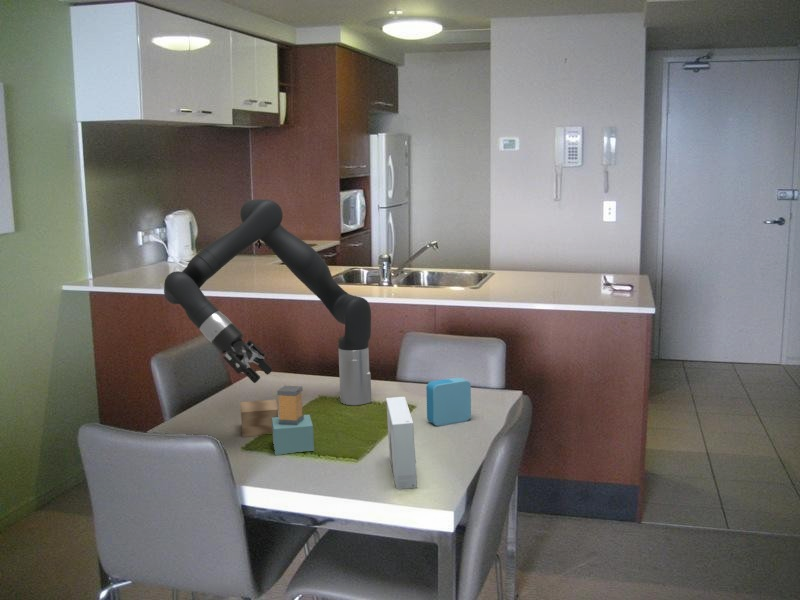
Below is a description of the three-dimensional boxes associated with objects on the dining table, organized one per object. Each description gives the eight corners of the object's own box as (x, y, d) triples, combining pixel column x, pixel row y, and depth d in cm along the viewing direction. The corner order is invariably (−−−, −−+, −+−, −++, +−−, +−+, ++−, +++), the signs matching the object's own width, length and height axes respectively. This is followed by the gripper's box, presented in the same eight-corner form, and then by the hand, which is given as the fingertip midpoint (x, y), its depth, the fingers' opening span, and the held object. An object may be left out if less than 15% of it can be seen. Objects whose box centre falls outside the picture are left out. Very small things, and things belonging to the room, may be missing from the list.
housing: (286, 418, 227) (284, 385, 225) (303, 419, 225) (302, 386, 224) (278, 424, 222) (277, 390, 220) (297, 425, 221) (295, 391, 219)
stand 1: (277, 422, 246) (275, 399, 244) (279, 433, 236) (277, 409, 235) (241, 425, 244) (240, 402, 242) (242, 437, 234) (240, 412, 233)
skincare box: (387, 457, 216) (385, 397, 213) (408, 456, 216) (407, 395, 213) (393, 490, 195) (392, 423, 192) (417, 488, 195) (416, 422, 193)
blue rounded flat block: (463, 416, 248) (463, 376, 246) (471, 420, 244) (471, 379, 242) (426, 422, 243) (425, 381, 241) (434, 427, 239) (433, 385, 237)
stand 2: (310, 439, 231) (309, 414, 229) (314, 451, 221) (313, 425, 220) (273, 442, 229) (271, 417, 228) (275, 455, 219) (273, 429, 218)
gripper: (218, 328, 216) (262, 373, 215) (241, 317, 230) (283, 360, 229) (200, 348, 218) (244, 393, 217) (224, 336, 232) (265, 378, 231)
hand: (264, 376), depth 223 cm, fingers open, 8 cm apart
